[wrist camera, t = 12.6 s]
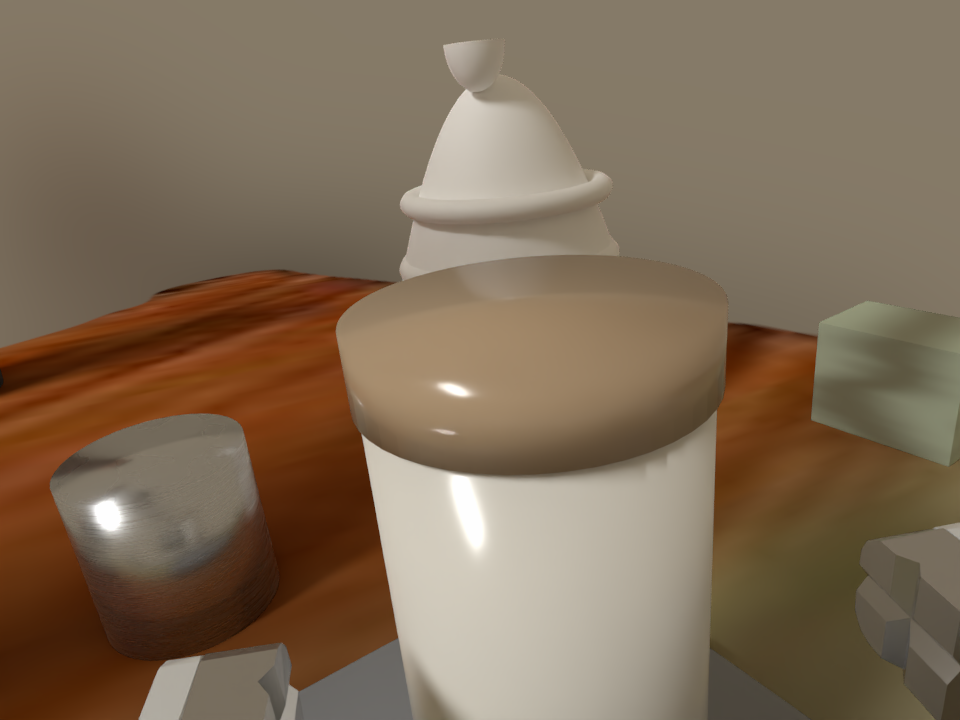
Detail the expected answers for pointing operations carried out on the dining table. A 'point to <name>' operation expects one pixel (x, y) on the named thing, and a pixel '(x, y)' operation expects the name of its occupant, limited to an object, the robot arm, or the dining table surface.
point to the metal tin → (169, 534)
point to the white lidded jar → (545, 482)
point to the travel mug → (1, 379)
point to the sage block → (891, 378)
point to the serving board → (387, 711)
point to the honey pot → (501, 177)
